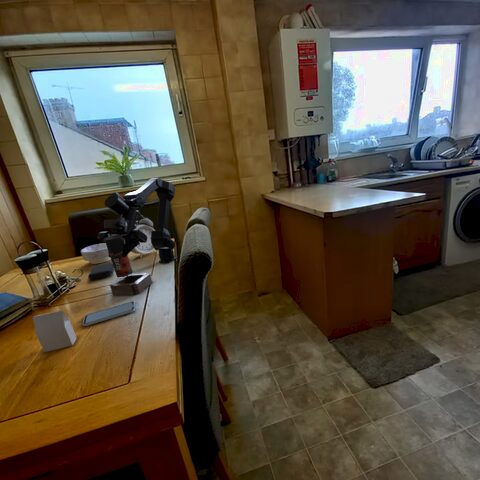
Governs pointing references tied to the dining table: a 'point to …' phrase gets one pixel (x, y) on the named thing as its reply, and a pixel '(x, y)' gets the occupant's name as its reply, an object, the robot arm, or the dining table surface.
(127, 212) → the robot arm
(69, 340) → the white angled block
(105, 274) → the carrying case
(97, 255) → the paper bowls
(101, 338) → the dining table surface
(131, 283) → the holder
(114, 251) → the deodorant
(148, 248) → the alarm clock
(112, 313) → the smartphone
